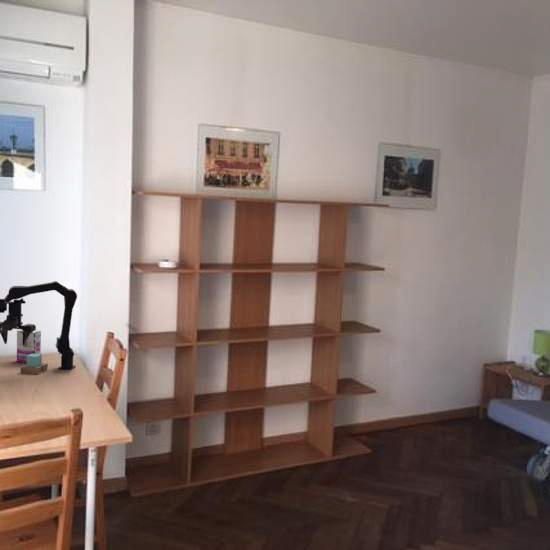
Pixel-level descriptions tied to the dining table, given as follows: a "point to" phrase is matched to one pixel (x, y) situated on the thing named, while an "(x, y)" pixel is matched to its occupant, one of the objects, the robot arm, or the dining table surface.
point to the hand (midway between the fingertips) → (14, 344)
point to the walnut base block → (34, 368)
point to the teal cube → (34, 360)
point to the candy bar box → (28, 345)
